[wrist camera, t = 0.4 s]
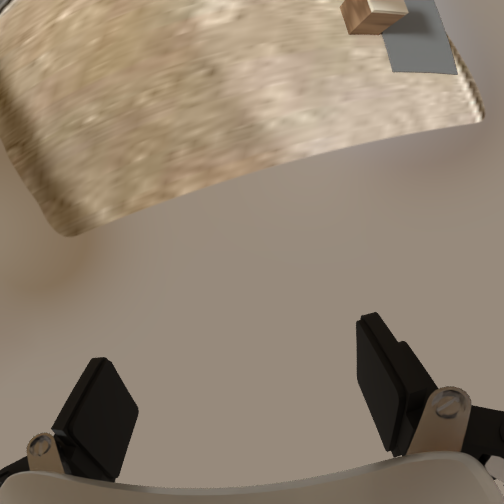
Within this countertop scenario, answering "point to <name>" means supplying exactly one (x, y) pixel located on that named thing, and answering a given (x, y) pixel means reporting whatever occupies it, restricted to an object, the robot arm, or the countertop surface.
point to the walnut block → (371, 15)
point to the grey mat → (419, 41)
